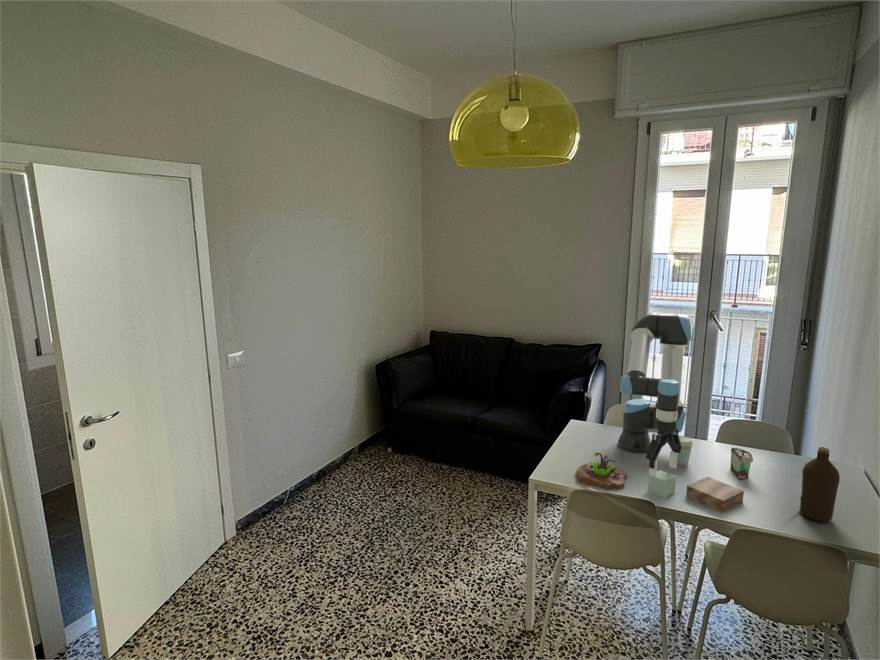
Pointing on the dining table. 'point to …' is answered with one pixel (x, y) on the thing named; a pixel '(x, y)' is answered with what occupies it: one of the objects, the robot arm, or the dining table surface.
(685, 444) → the coffee cup
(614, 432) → the dining table surface
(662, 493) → the sage cube
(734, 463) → the food container
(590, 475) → the plant
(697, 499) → the walnut block
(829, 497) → the brown bottle
